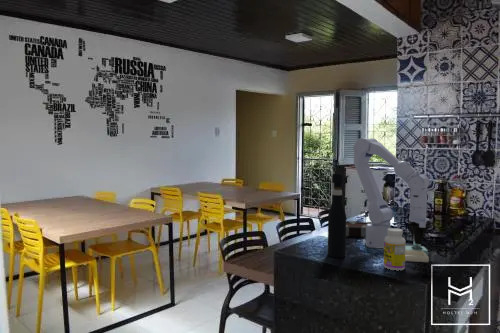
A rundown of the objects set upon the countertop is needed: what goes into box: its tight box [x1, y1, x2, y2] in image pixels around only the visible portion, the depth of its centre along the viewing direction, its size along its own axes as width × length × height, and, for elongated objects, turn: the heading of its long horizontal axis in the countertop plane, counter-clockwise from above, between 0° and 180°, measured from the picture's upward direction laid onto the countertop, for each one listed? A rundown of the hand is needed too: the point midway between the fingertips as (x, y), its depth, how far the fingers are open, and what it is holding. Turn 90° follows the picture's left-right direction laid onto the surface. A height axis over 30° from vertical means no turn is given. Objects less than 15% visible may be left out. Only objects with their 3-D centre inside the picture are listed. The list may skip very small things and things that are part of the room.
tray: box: [405, 250, 430, 263], centre depth 140 cm, size 8×8×2 cm
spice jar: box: [412, 237, 422, 250], centre depth 147 cm, size 3×3×9 cm
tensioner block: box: [405, 245, 429, 256], centre depth 148 cm, size 8×6×2 cm
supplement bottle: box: [383, 227, 407, 272], centre depth 129 cm, size 7×7×13 cm
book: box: [346, 220, 372, 238], centre depth 179 cm, size 15×25×5 cm, turn 79°
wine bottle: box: [327, 173, 347, 258], centre depth 143 cm, size 6×6×30 cm
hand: (417, 242), depth 147 cm, fingers closed on spice jar, 3 cm apart
